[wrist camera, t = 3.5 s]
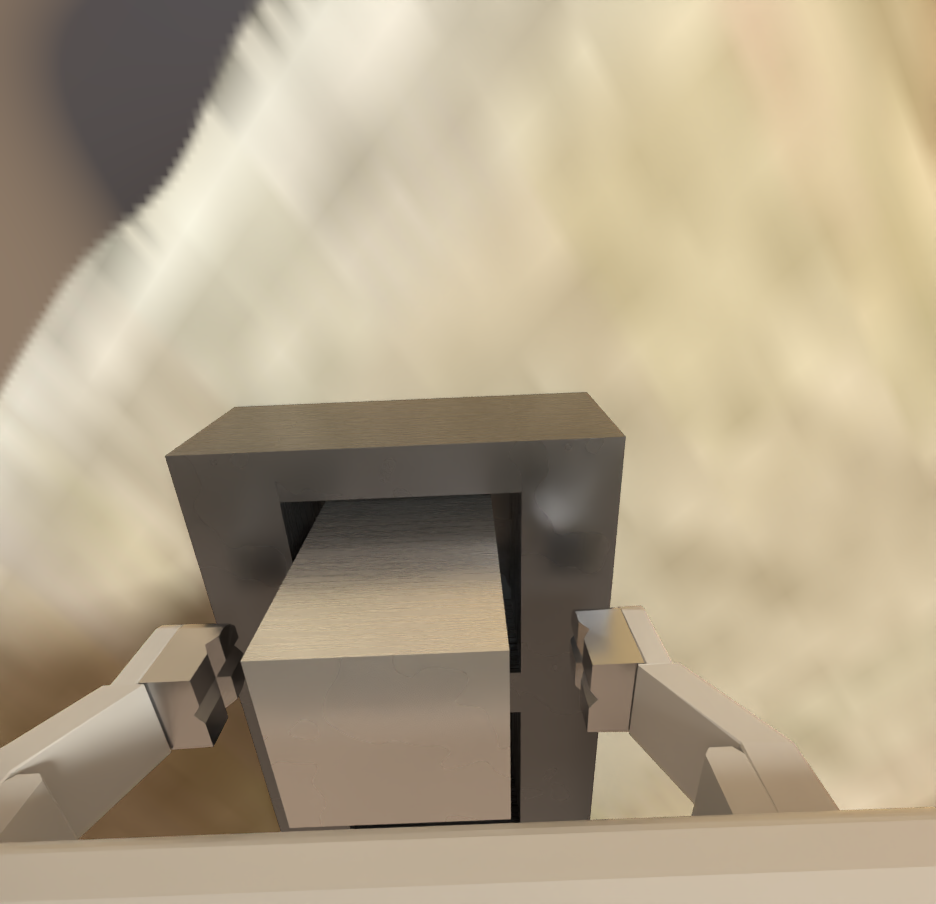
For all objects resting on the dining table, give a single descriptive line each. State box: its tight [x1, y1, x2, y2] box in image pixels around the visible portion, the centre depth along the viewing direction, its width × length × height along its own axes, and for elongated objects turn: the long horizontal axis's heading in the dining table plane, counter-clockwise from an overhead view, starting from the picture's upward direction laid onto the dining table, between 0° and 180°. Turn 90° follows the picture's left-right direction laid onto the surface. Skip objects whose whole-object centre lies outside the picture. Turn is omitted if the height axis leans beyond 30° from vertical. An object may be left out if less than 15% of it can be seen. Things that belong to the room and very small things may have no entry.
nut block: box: [240, 494, 511, 828], centre depth 12 cm, size 4×4×7 cm
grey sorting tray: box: [165, 392, 626, 832], centre depth 16 cm, size 10×22×4 cm, turn 2°
